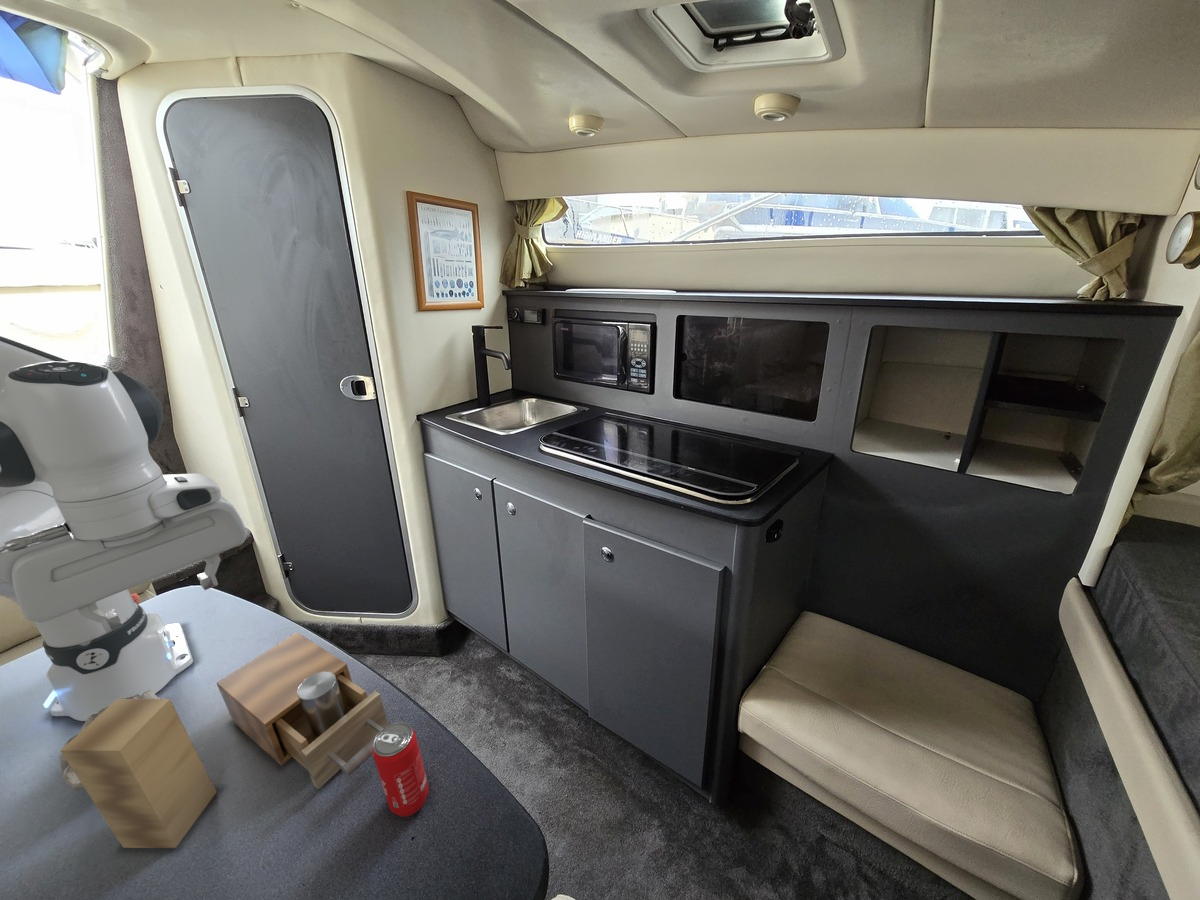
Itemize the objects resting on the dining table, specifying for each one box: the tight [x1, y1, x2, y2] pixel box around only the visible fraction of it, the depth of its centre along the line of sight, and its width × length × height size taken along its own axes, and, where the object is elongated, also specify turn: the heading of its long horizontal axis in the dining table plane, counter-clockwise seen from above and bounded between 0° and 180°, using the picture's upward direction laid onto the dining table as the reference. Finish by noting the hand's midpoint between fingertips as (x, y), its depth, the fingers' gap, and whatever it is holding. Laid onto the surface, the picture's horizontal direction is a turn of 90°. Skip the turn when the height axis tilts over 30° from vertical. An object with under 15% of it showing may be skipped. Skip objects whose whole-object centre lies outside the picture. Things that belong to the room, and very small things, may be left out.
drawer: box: [272, 674, 389, 790], centre depth 74 cm, size 18×11×7 cm, turn 59°
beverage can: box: [372, 721, 429, 818], centre depth 65 cm, size 5×5×12 cm
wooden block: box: [60, 698, 217, 849], centre depth 63 cm, size 7×7×18 cm
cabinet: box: [216, 631, 353, 766], centre depth 79 cm, size 15×13×9 cm
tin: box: [297, 671, 347, 740], centre depth 73 cm, size 5×5×10 cm
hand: (164, 605), depth 61 cm, fingers open, 8 cm apart
